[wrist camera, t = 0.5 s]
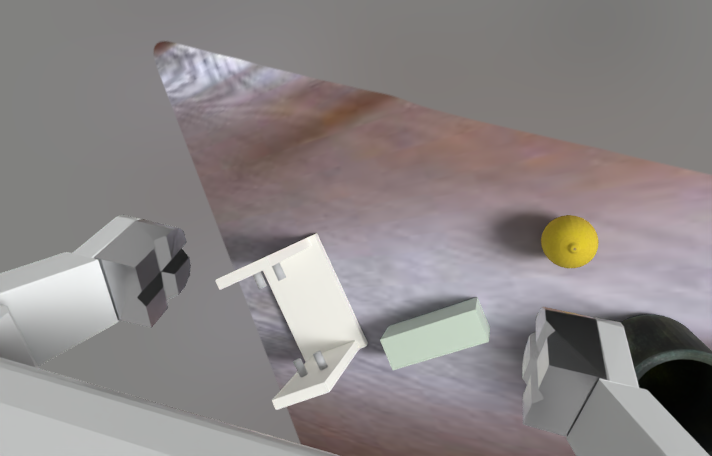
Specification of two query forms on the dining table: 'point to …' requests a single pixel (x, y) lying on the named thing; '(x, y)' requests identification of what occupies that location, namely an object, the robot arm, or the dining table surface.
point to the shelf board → (436, 334)
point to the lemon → (569, 241)
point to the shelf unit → (308, 315)
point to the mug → (674, 371)
